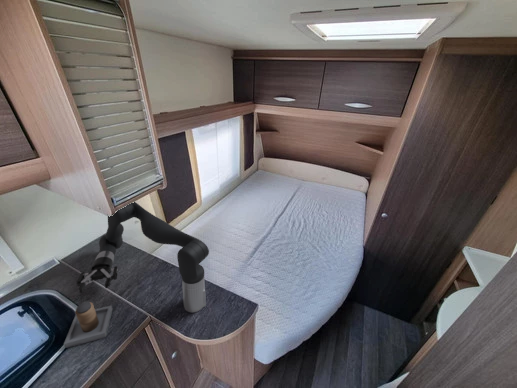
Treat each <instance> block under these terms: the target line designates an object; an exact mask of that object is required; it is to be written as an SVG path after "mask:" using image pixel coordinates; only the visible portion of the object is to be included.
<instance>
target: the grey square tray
mask: <svg viewBox="0 0 517 388" xmlns="http://www.w3.org/2000/svg"><path fill="white" fill-rule="evenodd" d="M94 309H95V311H96V314H97V317H98V320H99V324H98V326H97V327H96V328H95V329H94V330H92V331H90V332H83V331H82V328H81V326H80V323H79V321H78V318H77V316H76V314H75V315H74V318H73V320H72V323H71V325H70V328H69V330H68V333H67V334H66V338H65V340H64V342H63V347H64V348H65V349H68V348H71V347H72V348H73V347H77V346H79V345H82V344H86V343H89V342H94V341H97V340H100V339H105V338H106V337H107V334H108V329H109V326H110V322H111V318H112V313H113V305H108V306H107V305H106V306H104V307H97V308H94Z"/></svg>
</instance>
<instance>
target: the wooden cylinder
mask: <svg viewBox="0 0 517 388" xmlns="http://www.w3.org/2000/svg"><path fill="white" fill-rule="evenodd" d="M95 309H96V308H95V305H94V303H93V302H90V301H85V302H82V303H80V304H79V305H78V306H76V309H75V311H74V312H75V315H76V316H77V318H78V321H79V323H80V326H81V328H82V331H83V332H90V331H92V330H94V329H95V328H96V327H97V326H98V324H99V320H98V317H97V314H96V311H95Z"/></svg>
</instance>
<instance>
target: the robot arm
mask: <svg viewBox="0 0 517 388" xmlns="http://www.w3.org/2000/svg"><path fill="white" fill-rule="evenodd" d="M133 218H135V219H138V220H139V221H140V228H141V232H142V233H143V235H144V236H145V237H146V238H148V239H149V240H151V241H153V242H154V243H156V244H159V245H171V246H179V247H182V248H181V249H179V250H178V251H177V264H178V270H179V274H180V276H181V282H182V284H181V286H182V297H183V308H184V310H185V311H186V312H187V313H191V314H192V313H193V314H194V313H197V312H199V311H200V310H202V309H203V308H204V307H206V305H207V303H206V296H207V295H206V287H205V283H206V282H205V268H204V266H202V265H201V263H202V262H203V261H204V260H205V259H206V258H207V257H208V256H209V254H210V249H209V248H208V245H207V244H205V242H204V241H202V240H200V239H199V238H198V237H197V238H196V237H194V236H193V235H190V234H188V233H185V232H183V231H181V230H179V229H178V228H177V227H174V226H173V225H171V224H169V223H168V222H167V221H165V220H163V219H161V218H159V217H158V216H156V215H154V214H152V213H151V212H149V211H148V210H147V209H145V208H144V207H142V205H139V203H137V202H136V201H134V203H131V204H129V205H127V206H126V207H124V208H122V209H120V210H118V211H117V212H116V213H115V214H114V215H113V216H110V217H109V216H108V215H107V229H106V233H105V234H103V235H102V236H101V237H100V238H99V243H98V245H99V251H98V253H97V255H96V257H95V258H94V261H93V264H92V265H91V269H90V271H89V272H86V273H85V272H84V271H83V272H81V273H80V275H79V276H78V278H77V280H76V284H77V287H78V291H79V294H83V293H84V292H85V289H86V288H87V287H86V286H87V285H89V284H91V283H93V282H94V281H98V280H103V279H104V280H105V282H104V287H105V289H108V288H109V287H110V286H111V283H112V281H113V280H117V279H118V274H119V269H118V266H117V265H116V266H114V267H113V264H114V262H115V261H114V260H115V257H116V252H117V250H118V249H120V248H121V247H122V245H123V242H124V240H123V233H124V225H123V224H122V223H124V222H126V221H129V220H131V219H133ZM112 267H113V268H112ZM111 273H112V275H111Z"/></svg>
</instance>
